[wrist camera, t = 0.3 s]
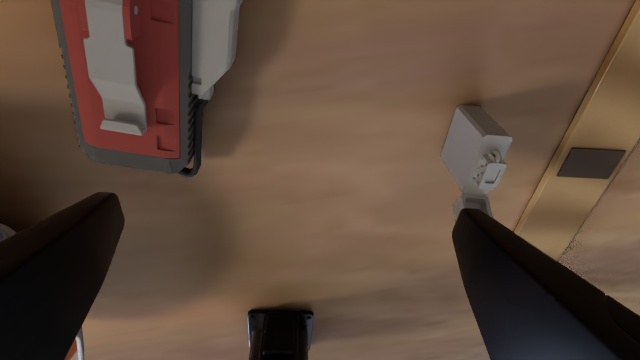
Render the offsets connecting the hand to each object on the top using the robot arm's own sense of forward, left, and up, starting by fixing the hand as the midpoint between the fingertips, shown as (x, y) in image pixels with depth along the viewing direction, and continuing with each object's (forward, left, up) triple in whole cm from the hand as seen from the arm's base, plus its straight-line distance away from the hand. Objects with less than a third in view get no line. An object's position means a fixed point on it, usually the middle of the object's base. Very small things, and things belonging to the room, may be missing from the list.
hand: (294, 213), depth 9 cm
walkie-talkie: (+2, +8, -15) cm, 17 cm away
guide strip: (-6, -21, -15) cm, 26 cm away
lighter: (-6, -11, -15) cm, 19 cm away
